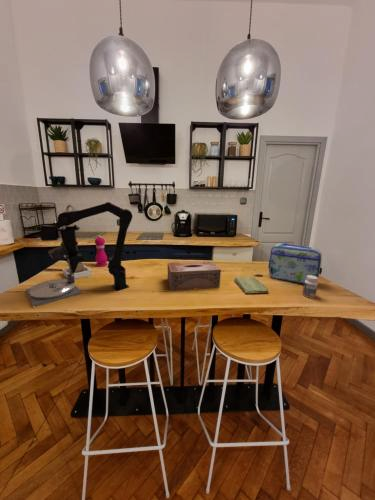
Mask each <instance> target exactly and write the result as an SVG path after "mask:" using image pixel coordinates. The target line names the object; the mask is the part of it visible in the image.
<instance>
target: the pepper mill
mask: <svg viewBox="0 0 375 500" xmlns="http://www.w3.org/2000/svg"><path fill="white" fill-rule="evenodd" d="M105 243H106V239H105V238H103V237H102V236H101V235H97V238H95V240H94V244H95V247H96V255H95V258H94V259H95V260H94V261H95V262H96V267H98V268H102V267H103V268H104V267H106V266H108V262H107V261H108V256H107V254H106V252H105Z"/></svg>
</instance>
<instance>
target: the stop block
mask: <svg viewBox="0 0 375 500" xmlns="http://www.w3.org/2000/svg"><path fill="white" fill-rule="evenodd" d="M84 265H85V264H84V262H79V263H78V266H77V268H76V271H75V272H74V273H78V272H83V271H84ZM68 268H70V267H69V266H68ZM70 273H72V272H71V269H70ZM74 273H73V274H74Z"/></svg>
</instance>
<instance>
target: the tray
mask: <svg viewBox="0 0 375 500" xmlns="http://www.w3.org/2000/svg"><path fill="white" fill-rule="evenodd" d="M62 274H63V276H64V277H65V279H67V274H70V268H69V267H67V268H62ZM89 276H93V270H92V269H91V268H89V267H88V266H87V265H85V264H84V271H83V272H78V273H74V278H75V280H77V279H81V278H86V277H89Z"/></svg>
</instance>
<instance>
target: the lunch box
mask: <svg viewBox="0 0 375 500" xmlns="http://www.w3.org/2000/svg"><path fill="white" fill-rule="evenodd" d="M269 255H270V256H269V259H268V267H267V268H268V271H269V272H268V273H269V275H270V277H271V278H272V279H275V280H277V279H278V280H283V281H288V282H294V283H298V284H303V285H304V282H305V280H307V278H306V277H307V275H312V276H316V277H317V278H318V279H319V276H320V270H321V266H322V255H323V254H322V252H321V251H320V250H319V249H318V248H315V247H312V246H307V245H300V244H299V245H298V244H291V243H287V242H284V243H277V244H275V246H274V245H273V247H272V248H271V250H270V254H269Z"/></svg>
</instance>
